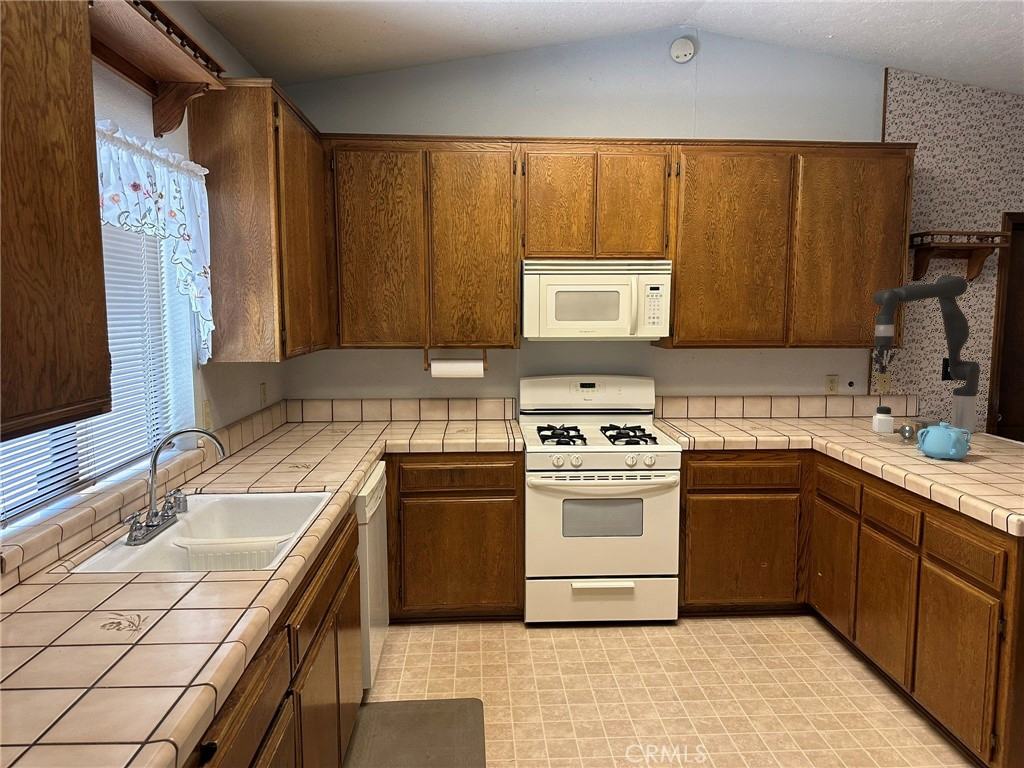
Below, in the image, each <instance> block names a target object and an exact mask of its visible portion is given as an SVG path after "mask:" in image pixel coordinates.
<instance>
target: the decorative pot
mask: <svg viewBox="0 0 1024 768" xmlns="http://www.w3.org/2000/svg"><path fill="white" fill-rule="evenodd" d="M924 431H925V433H924V434H923V436H922V438H921V433H922V432H924ZM962 432H966V433H965V434H966V438H965V436H964V433H962ZM917 436H918V440H919V443H920V444H915V448H916V450H917V451H920V452H922V453H923V454H924V455H925V456H926V455H927V456H926V457H932V458H933V460H936V461H940V460H942V459H951V460H953V461H960V459H963V458H965V456H967V454H968V452H971V451H972V446H971V445H970V444H969V443H970V440H971V438H972V433H970V432H969V431H967V430H965V429H961V430H960V429H958V428H954V427H951V426H950V423H949V422H940V426H929V427H928V428H927V429H921V430H920V431H919V432H918V434H917Z"/></svg>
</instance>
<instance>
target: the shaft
mask: <svg viewBox="0 0 1024 768" xmlns="http://www.w3.org/2000/svg"><path fill="white" fill-rule="evenodd" d="M922 429H923V427H922ZM922 433H923V432H922ZM899 434H900V435H899V436H902V437H904V438H910V437H911V436H912V435H913V428H912V427H911V426H909V425H903V424H902V425H901V426H900V428H899Z"/></svg>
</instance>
